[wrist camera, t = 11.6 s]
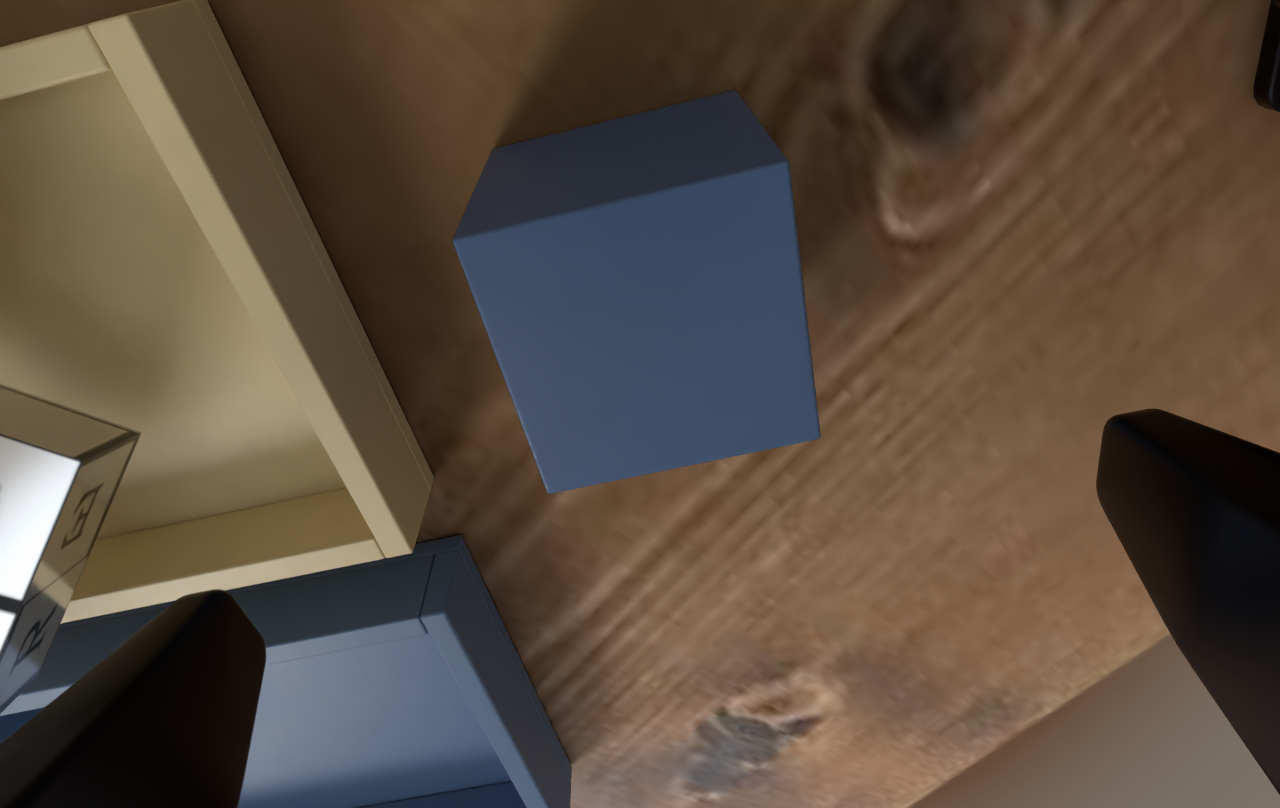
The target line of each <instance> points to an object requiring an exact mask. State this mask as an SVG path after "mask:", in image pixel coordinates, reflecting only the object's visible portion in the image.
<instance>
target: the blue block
mask: <svg viewBox="0 0 1280 808" xmlns="http://www.w3.org/2000/svg"><path fill="white" fill-rule="evenodd" d="M453 244H454V247H455V249H456V252H457V255H458V257H459V260H460V263H461V265H462V268H463V271H464V273H465V276H466V279H467V281H468V284H469V287H470V289H471V292H472V295H473V297H474V300H475V303H476V305H477V308H478V311H479V313H480V316H481V318H482V321H483V324H484V326H485V329H486V332H487V334H488V337H489V340H490V342H491V345H492V348H493V350H494V353H495V356H496V358H497V361H498V364H499V366H500V369H501V372H502V374H503V377H504V380H505V382H506V385H507V388H508V390H509V393H510V395H511V398H512V401H513V403H514V406H515V409H516V411H517V414H518V417H519V419H520V422H521V425H522V427H523V430H524V433H525V435H526V438H527V441H528V443H529V446H530V449H531V451H532V454H533V457H534V459H535V462H536V465H537V467H538V470H539V472H540V475H541V478H542V480H543V483H544V486H545V488H546V491H547V493H548V494H552V493H557V492H561V491H566V490H571V489H576V488H581V487H586V486H591V485H596V484H601V483H606V482H610V481H615V480H620V479H625V478H630V477H635V476H640V475H645V474H650V473H655V472H660V471H664V470H669V469H674V468H679V467H684V466H689V465H694V464H699V463H704V462H709V461H714V460H718V459H723V458H728V457H733V456H738V455H743V454H748V453H753V452H758V451H763V450H767V449H772V448H777V447H782V446H787V445H792V444H797V443H802V442H807V441H812V440H817V439H819V438H820V435H821V434H820V426H819V417H818V408H817V399H816V391H815V382H814V373H813V365H812V356H811V347H810V338H809V330H808V321H807V312H806V304H805V295H804V286H803V278H802V269H801V260H800V251H799V243H798V234H797V225H796V217H795V208H794V199H793V190H792V182H791V173H790V164H789V162H788V160H787V159H786V157H785V156H784V155H783V153H782V152H781V150H780V149H779V148H778V146H777V145H776V144H775V142H774V141H773V140H772V138H771V137H770V136H769V134H768V133H767V132H766V130H765V129H764V127H763V126H762V125H761V123H760V122H759V121H758V119H757V118H756V117H755V115H754V114H753V113H752V111H751V110H750V109H749V107H748V106H747V104H746V103H745V102H744V100H743V99H742V98H741V96H740V95H739V94H738V92H737V91H736V90H732V91H728V92H724V93H720V94H716V95H712V96H708V97H704V98H700V99H695V100H691V101H687V102H683V103H679V104H675V105H671V106H667V107H663V108H659V109H654V110H650V111H646V112H642V113H638V114H634V115H630V116H626V117H622V118H617V119H613V120H609V121H605V122H601V123H597V124H593V125H589V126H585V127H581V128H576V129H572V130H568V131H564V132H560V133H556V134H552V135H548V136H544V137H540V138H535V139H531V140H527V141H523V142H519V143H515V144H511V145H507V146H503V147H498V148H494V149H493V150H492V151H491V153H490V155H489V157H488V160H487V162H486V164H485V167H484V169H483V171H482V173H481V176H480V178H479V180H478V182H477V185H476V187H475V189H474V192H473V194H472V196H471V198H470V201H469V203H468V205H467V208H466V210H465V212H464V214H463V217H462V219H461V221H460V223H459V226H458V228H457V230H456V233H455V235H454V237H453Z"/></svg>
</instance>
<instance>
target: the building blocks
mask: <svg viewBox="0 0 1280 808" xmlns="http://www.w3.org/2000/svg"><path fill="white" fill-rule="evenodd" d="M141 433H142V432H139V431H137V430H134V429H131V428H128V427H125V426H122V425H119V424H116V423H113V422H110V421H108V420H105V419H102V418H99V417H96V416H93V415H90V414H87V413H84V412H82V411H79V410H76V409H73V408H70V407H67V406H64V405H61V404H58V403H55V402H53V401H50V400H47V399H44V398H41V397H38V396H35V395H32V394H29V393H26V392H24V391H21V390H18V389H15V388H12V387H9V386H6V385H3V384H0V714H1V713H2V712H3V711H4V710H5V709H6V708H7V707H8V706H9V705H10V704H11V703H12V702H13V701H14V700H15V699H16V698H17V697H18V696H19V695H20V694H21V693H22V692H23V691H24V690H25V689H26V688H27V687H28V686H29V685H30V684H31V683H32V682H33V681H34V680H35V679H36V678H37V677H38V675H39V673H40V670H41V668H42V666H43V663H44V661H45V659H46V656H47V654H48V652H49V649H50V647H51V645H52V642H53V640H54V637H55V635H56V633H57V630H58V628H59V626H60V623H61V621H62V619H63V616H64V614H65V612H66V609H67V607H68V604H69V602H70V600H71V597H72V595H73V593H74V590H75V588H76V586H77V583H78V581H79V579H80V576H81V574H82V572H83V569H84V567H85V564H86V562H87V560H88V557H89V555H90V553H91V550H92V548H93V546H94V543H95V541H96V539H97V536H98V534H99V531H100V529H101V527H102V524H103V522H104V520H105V517H106V515H107V513H108V510H109V508H110V506H111V503H112V501H113V499H114V496H115V494H116V491H117V489H118V487H119V484H120V482H121V480H122V477H123V475H124V473H125V470H126V468H127V466H128V463H129V461H130V459H131V456H132V454H133V451H134V449H135V447H136V444H137V442H138V440H139V437H140V435H141Z"/></svg>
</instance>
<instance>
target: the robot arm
mask: <svg viewBox="0 0 1280 808" xmlns="http://www.w3.org/2000/svg"><path fill="white" fill-rule="evenodd" d="M1254 98H1255V100H1256V102H1257V103H1258V105H1260V106H1262V107H1265V108H1267V109H1270V110H1273V111H1277V112H1280V0H1271V4H1270V9H1269V14H1268V18H1267V23H1266V28H1265V33H1264V38H1263V43H1262V48H1261V52H1260V57H1259V62H1258V67H1257V72H1256V77H1255V82H1254ZM1096 487H1097V494H1098V498H1099V501H1100V504H1101V506H1102V508H1103V510H1104V512H1105V514H1106V516H1107V517H1108V519H1109V521H1110V523H1111V525H1112V527H1113V529H1114V530H1115V532H1116V534H1117V536H1118V538H1119V540H1120V542H1121V543H1122V545H1123V547H1124V549H1125V551H1126V553H1127V555H1128V556H1129V558H1130V560H1131V562H1132V564H1133V566H1134V567H1135V569H1136V571H1137V573H1138V575H1139V577H1140V579H1141V580H1142V582H1143V584H1144V586H1145V588H1146V590H1147V592H1148V593H1149V595H1150V597H1151V599H1152V601H1153V603H1154V605H1155V606H1156V608H1157V610H1158V612H1159V614H1160V616H1161V618H1162V619H1163V621H1164V623H1165V625H1166V627H1167V628H1168V630H1169V632H1170V633H1171V635H1172V637H1173V639H1174V640H1175V642H1176V644H1177V645H1178V647H1179V648H1180V650H1181V652H1182V653H1183V654H1184V656H1185V658H1186V659H1187V661H1188V662H1189V664H1190V665H1191V667H1192V668H1193V670H1194V671H1195V672H1196V674H1197V675H1198V677H1199V678H1200V680H1201V681H1202V683H1203V684H1204V686H1205V687H1206V688H1207V690H1208V691H1209V693H1210V694H1211V696H1212V697H1213V699H1214V700H1215V702H1216V703H1217V704H1218V706H1219V707H1220V709H1221V710H1222V712H1223V713H1224V715H1225V716H1226V717H1227V719H1228V720H1229V722H1230V723H1231V725H1232V726H1233V728H1234V729H1235V731H1236V732H1237V733H1238V735H1239V736H1240V738H1241V739H1242V741H1243V742H1244V743H1245V745H1246V747H1247V748H1248V749H1249V751H1250V752H1251V754H1252V755H1253V756H1254V758H1255V760H1256V761H1257V762H1258V764H1259V765H1260V767H1261V768H1262V770H1263V771H1264V773H1265V774H1266V775H1267V777H1268V778H1269V780H1270V781H1271V783H1272V784H1273V785H1274V787H1275V788H1276V790H1277V791H1278V793H1279V794H1280V453H1278V452H1276V451H1273V450H1270V449H1267V448H1265V447H1262V446H1259V445H1256V444H1254V443H1251V442H1248V441H1245V440H1243V439H1240V438H1237V437H1235V436H1232V435H1229V434H1226V433H1224V432H1221V431H1218V430H1215V429H1213V428H1210V427H1207V426H1204V425H1202V424H1199V423H1196V422H1194V421H1191V420H1188V419H1185V418H1183V417H1180V416H1177V415H1174V414H1172V413H1169V412H1166V411H1163V410H1160V409H1145V410H1140V411H1135V412H1129V413H1124V414H1119V415H1115V416H1113V417H1111V418H1110V419H1109V420H1108V421H1107V422H1106V424H1105V426H1104V430H1103V436H1102V443H1101V450H1100V458H1099V465H1098V472H1097V479H1096ZM265 665H266V647H265V643H264V640H263V637H262V636H261V634H260V633H259V631H258V630H257V629H256V627H255V626H254V625H253V623H252V622H251V621H250V619H249V618H248V617H247V615H246V614H245V613H244V611H243V610H242V609H241V607H240V606H239V604H238V603H237V602H236V600H235V599H234V598H233V597H232V596H231V594H229V593H228V592H226V591H224V590H220V589H213V590H208V591H202V592H197V593H192V594H188V595H185V596H182V597H180V598H179V599H177V600H176V601H174V602H173V603H172V604H171V605H170V606H168V607H167V608H166V609H165V610H163V611H162V612H161V613H160V614H159V615H157V616H156V617H155V618H154V619H152V620H151V621H150V622H149V623H148V624H146V625H145V626H144V627H143V628H141V629H140V630H139V631H138V632H136V633H135V634H134V635H133V636H132V637H130V638H129V639H128V640H127V641H125V642H124V643H123V644H122V645H121V646H119V647H118V648H117V649H116V650H114V651H113V652H112V653H111V654H110V655H108V656H107V657H106V658H105V659H103V660H102V661H101V662H100V663H98V664H97V665H96V666H95V667H94V668H92V669H91V670H90V671H89V672H87V673H86V674H85V675H84V676H83V677H81V678H80V679H79V680H78V681H76V682H75V683H74V684H73V685H72V686H70V687H69V688H68V689H67V690H65V691H64V692H63V693H62V694H60V695H59V696H58V697H57V698H56V699H54V700H53V701H52V702H51V703H49V704H48V705H47V706H46V707H45V708H43V709H42V710H41V711H40V712H38V713H37V714H36V715H35V716H34V717H32V718H31V719H30V720H29V721H27V722H26V723H25V724H24V725H23V726H21V727H20V728H19V729H18V730H16V731H15V732H14V733H13V734H11V735H10V736H9V737H8V738H7V739H5V740H4V741H3V742H2V743H0V808H238V804H239V800H240V795H241V791H242V786H243V781H244V777H245V772H246V766H247V761H248V756H249V750H250V745H251V739H252V734H253V729H254V723H255V718H256V713H257V707H258V702H259V697H260V691H261V686H262V681H263V675H264V670H265Z"/></svg>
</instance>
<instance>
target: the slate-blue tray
mask: <svg viewBox="0 0 1280 808" xmlns="http://www.w3.org/2000/svg"><path fill="white" fill-rule="evenodd" d="M225 591H226V592H228V593H229V594H231V596H232V597H233V598H234V599H235V600H236V602H237V603H238V604H239V606H240V607H241V609H242V610H243V611H244V613H245V614H246V615H247V617H248V618H249V619H250V621H251V622H252V623H253V625H254V626H255V627H256V629H257V630H258V631H259V633H260V634H261V636H262V637H263V640H264V643H265V647H266V665H265V670H264V675H263V681H262V686H261V691H260V697H259V702H258V707H257V713H256V718H255V723H254V729H253V734H252V739H251V745H250V750H249V756H248V761H247V766H246V772H245V777H244V781H243V786H242V791H241V795H240V800H239V804H238V808H570V799H571V772H572V767H571V764H570V762H569V760H568V758H567V756H566V754H565V752H564V750H563V748H562V746H561V743H560V741H559V739H558V737H557V735H556V733H555V731H554V729H553V727H552V725H551V722H550V720H549V718H548V716H547V714H546V712H545V710H544V708H543V706H542V704H541V701H540V699H539V697H538V695H537V693H536V691H535V689H534V687H533V685H532V682H531V680H530V678H529V676H528V674H527V672H526V670H525V668H524V666H523V664H522V661H521V659H520V657H519V655H518V653H517V651H516V649H515V647H514V645H513V643H512V640H511V638H510V636H509V634H508V632H507V630H506V628H505V626H504V624H503V622H502V619H501V617H500V615H499V613H498V611H497V609H496V607H495V605H494V603H493V600H492V598H491V596H490V594H489V592H488V590H487V588H486V586H485V584H484V582H483V579H482V577H481V575H480V573H479V571H478V569H477V567H476V565H475V563H474V561H473V558H472V556H471V554H470V552H469V550H468V548H467V546H466V544H465V542H464V540H463V537H462V536H461V535H458V536H453V537H448V538H443V539H438V540H433V541H428V542H423V543H419V544H415V547H414V550H413V552H412V553H410V554H405V555H400V556H395V557H390V558H386V557H385V558H384V559H380V560H375V561H370V562H365V563H360V564H355V565H350V566H345V567H340V568H335V569H330V570H325V571H320V572H315V573H310V574H305V575H300V576H295V577H290V578H285V579H280V580H275V581H270V582H265V583H260V584H255V585H250V586H245V587H240V588H235V589H230V590H225ZM173 602H174V601H171V602H166V603H161V604H156V605H151V606H146V607H141V608H136V609H131V610H126V611H121V612H116V613H111V614H106V615H101V616H96V617H91V618H86V619H81V620H76V621H71V622H66V623H61V624H60V626H59V628H58V630H57V633H56V635H55V637H54V640H53V642H52V645H51V647H50V649H49V652H48V654H47V656H46V659H45V661H44V663H43V666H42V668H41V670H40V673H39V675H38V677H37V678H36V679H35V680H34V681H33V682H32V683H31V684H30V685H29V686H28V687H27V688H26V689H25V690H24V691H23V692H22V693H21V694H20V695H19V696H18V697H17V698H16V699H15V700H14V701H13V702H12V703H11V704H10V705H9V706H8V707H7V708H6V709H5V710H4V711H3V712H2V713H1V714H0V743H2V742H3V741H4V740H5V739H7V738H8V737H9V736H10V735H11V734H13V733H14V732H15V731H16V730H18V729H19V728H20V727H21V726H23V725H24V724H25V723H26V722H27V721H29V720H30V719H31V718H32V717H34V716H35V715H36V714H37V713H38V712H40V711H41V710H42V709H43V708H45V707H46V706H47V705H48V704H49V703H51V702H52V701H53V700H54V699H56V698H57V697H58V696H59V695H60V694H62V693H63V692H64V691H65V690H67V689H68V688H69V687H70V686H72V685H73V684H74V683H75V682H76V681H78V680H79V679H80V678H81V677H83V676H84V675H85V674H86V673H87V672H89V671H90V670H91V669H92V668H94V667H95V666H96V665H97V664H98V663H100V662H101V661H102V660H103V659H105V658H106V657H107V656H108V655H110V654H111V653H112V652H113V651H114V650H116V649H117V648H118V647H119V646H121V645H122V644H123V643H124V642H125V641H127V640H128V639H129V638H130V637H132V636H133V635H134V634H135V633H136V632H138V631H139V630H140V629H141V628H143V627H144V626H145V625H146V624H148V623H149V622H150V621H151V620H152V619H154V618H155V617H156V616H157V615H159V614H160V613H161V612H162V611H163V610H165V609H166V608H167V607H168V606H170V605H171V604H172V603H173Z"/></svg>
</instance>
